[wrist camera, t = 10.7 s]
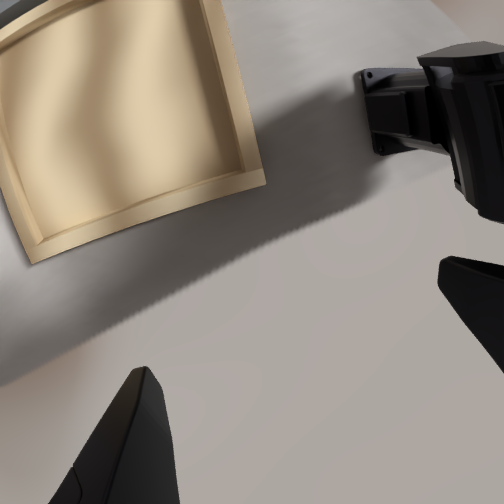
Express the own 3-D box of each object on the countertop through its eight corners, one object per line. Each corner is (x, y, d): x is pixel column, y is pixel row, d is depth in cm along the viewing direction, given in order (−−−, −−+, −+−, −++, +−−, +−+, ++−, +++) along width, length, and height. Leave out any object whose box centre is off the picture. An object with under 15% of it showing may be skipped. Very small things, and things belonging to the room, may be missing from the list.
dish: (203, -38, 12) (205, -51, 10) (259, 179, 19) (266, 184, 17) (-13, 52, 10) (-26, 48, 9) (41, 253, 17) (31, 264, 16)
